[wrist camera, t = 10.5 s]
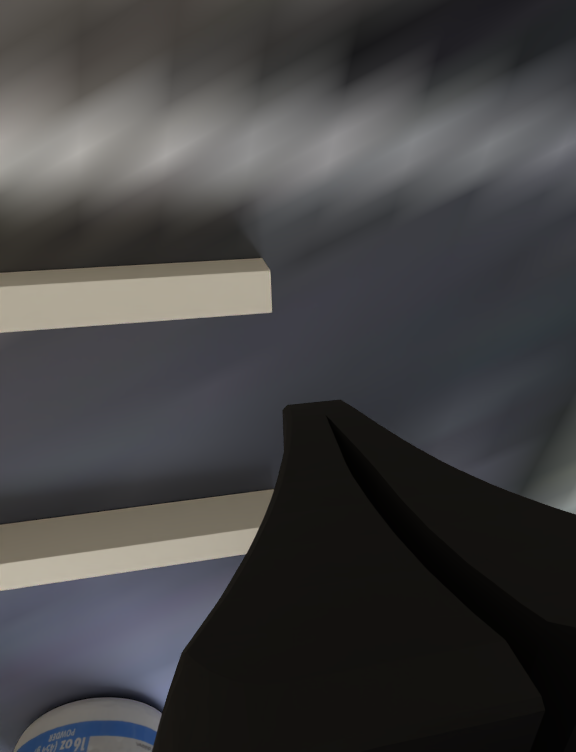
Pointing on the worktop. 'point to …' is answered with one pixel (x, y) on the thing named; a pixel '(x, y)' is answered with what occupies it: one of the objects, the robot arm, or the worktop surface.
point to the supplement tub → (93, 727)
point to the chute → (145, 523)
